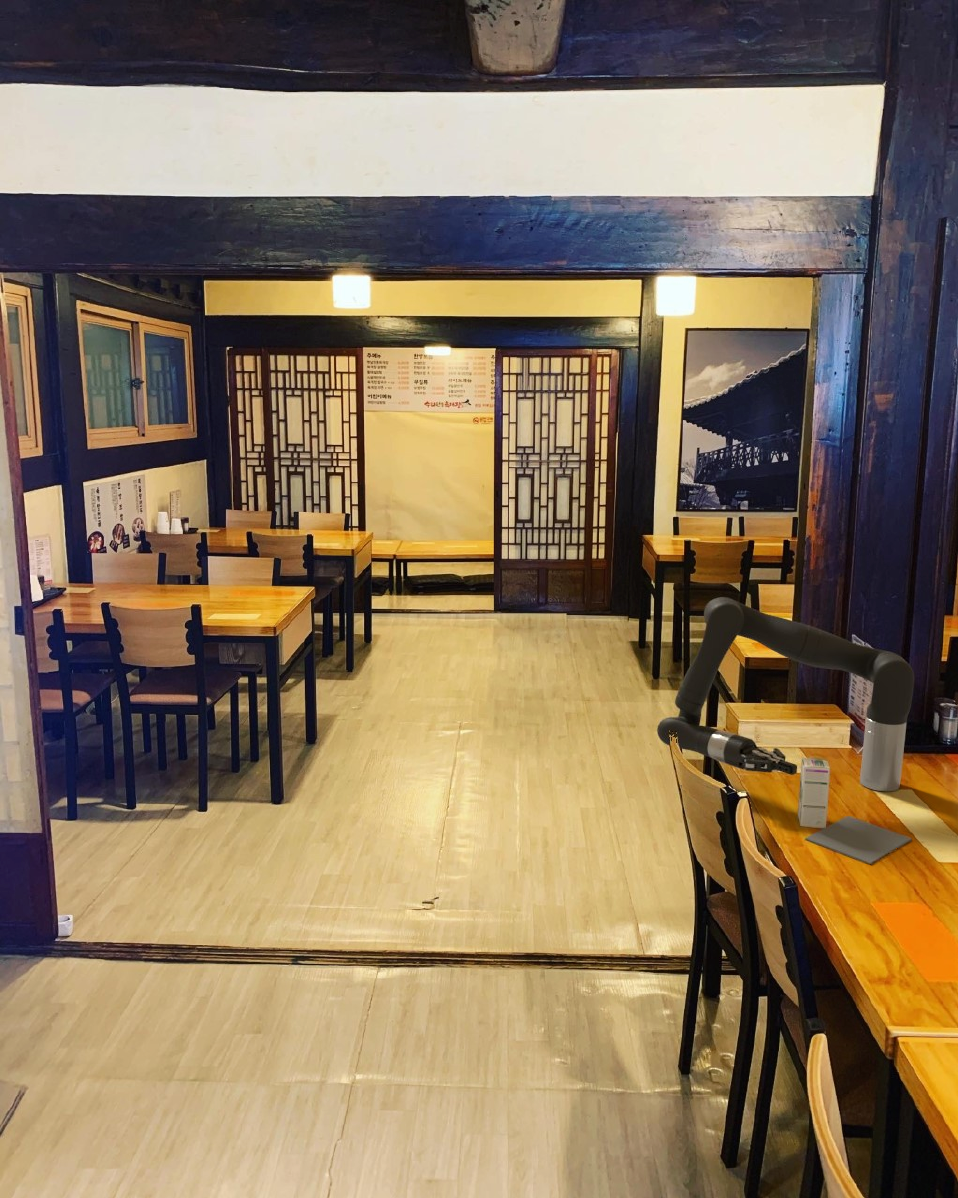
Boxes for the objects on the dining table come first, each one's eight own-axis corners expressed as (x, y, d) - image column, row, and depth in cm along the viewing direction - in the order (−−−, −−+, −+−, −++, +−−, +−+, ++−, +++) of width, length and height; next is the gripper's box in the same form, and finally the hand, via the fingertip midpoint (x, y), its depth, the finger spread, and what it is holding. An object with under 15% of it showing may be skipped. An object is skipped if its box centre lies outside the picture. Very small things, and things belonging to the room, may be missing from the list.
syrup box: (826, 829, 222) (832, 768, 219) (798, 826, 223) (804, 765, 220) (823, 818, 227) (828, 758, 224) (796, 816, 228) (801, 756, 225)
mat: (848, 817, 228) (848, 815, 228) (911, 840, 217) (911, 838, 217) (805, 839, 216) (805, 838, 216) (870, 864, 205) (870, 863, 205)
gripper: (715, 740, 234) (780, 761, 221) (748, 728, 243) (812, 748, 230) (714, 770, 236) (777, 793, 223) (746, 757, 244) (809, 778, 231)
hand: (795, 770), depth 226 cm, fingers closed
